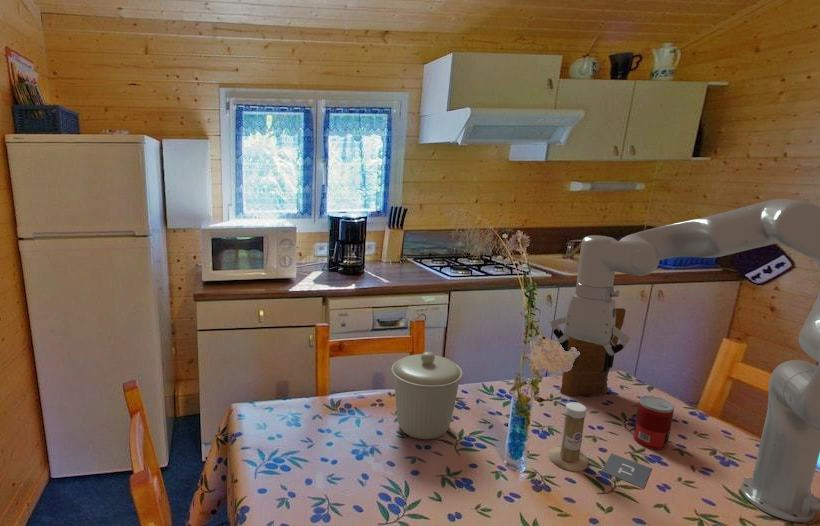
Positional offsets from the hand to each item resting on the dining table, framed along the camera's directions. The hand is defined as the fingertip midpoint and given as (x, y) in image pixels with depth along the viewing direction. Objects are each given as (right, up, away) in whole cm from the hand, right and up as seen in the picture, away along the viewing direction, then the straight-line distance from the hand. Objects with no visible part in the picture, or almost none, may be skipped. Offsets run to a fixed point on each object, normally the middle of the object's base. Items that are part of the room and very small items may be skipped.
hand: (584, 363), depth 107 cm
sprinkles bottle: (-2, -24, +5) cm, 24 cm away
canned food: (+22, -23, +14) cm, 35 cm away
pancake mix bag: (+15, -18, +39) cm, 45 cm away
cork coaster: (-2, -24, +5) cm, 24 cm away
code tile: (+10, -25, +2) cm, 27 cm away
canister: (-37, -20, +15) cm, 44 cm away
